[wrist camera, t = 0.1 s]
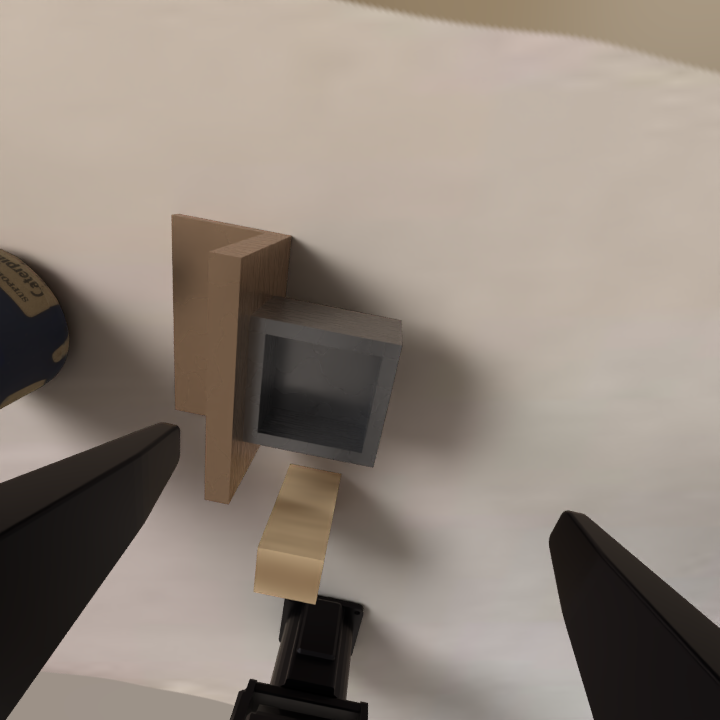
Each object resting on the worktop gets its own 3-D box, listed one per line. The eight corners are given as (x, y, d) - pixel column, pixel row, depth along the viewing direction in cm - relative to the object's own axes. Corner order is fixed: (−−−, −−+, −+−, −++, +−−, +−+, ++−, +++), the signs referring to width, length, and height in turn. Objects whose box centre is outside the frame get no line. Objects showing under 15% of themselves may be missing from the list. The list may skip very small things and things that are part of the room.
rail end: (333, 512, 29) (315, 604, 22) (285, 502, 29) (253, 591, 22) (341, 473, 27) (323, 560, 21) (290, 463, 27) (257, 547, 21)
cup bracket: (370, 441, 26) (361, 531, 19) (181, 403, 26) (104, 479, 19) (411, 259, 21) (418, 292, 14) (179, 214, 21) (75, 225, 14)
